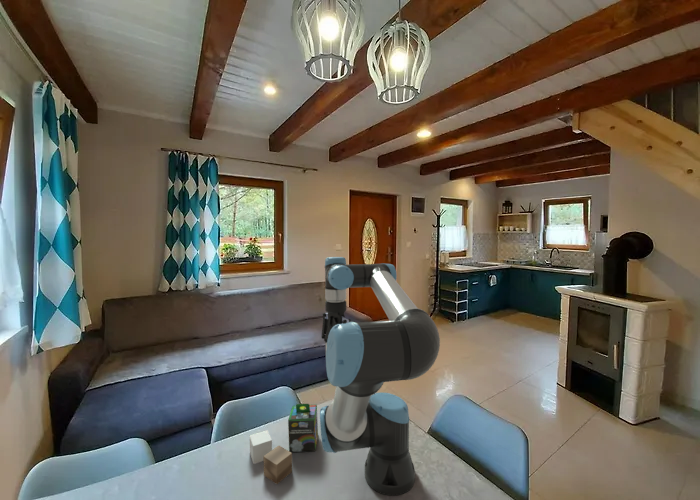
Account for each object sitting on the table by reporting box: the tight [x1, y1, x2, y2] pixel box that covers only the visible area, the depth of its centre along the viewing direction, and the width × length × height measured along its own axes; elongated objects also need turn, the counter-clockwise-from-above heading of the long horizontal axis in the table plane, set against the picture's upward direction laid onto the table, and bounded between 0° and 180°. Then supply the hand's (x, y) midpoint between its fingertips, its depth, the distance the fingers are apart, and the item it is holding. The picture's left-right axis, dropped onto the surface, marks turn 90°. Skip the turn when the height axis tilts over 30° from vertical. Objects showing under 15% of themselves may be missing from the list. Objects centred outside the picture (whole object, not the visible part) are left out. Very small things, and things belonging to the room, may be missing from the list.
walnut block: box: [263, 445, 293, 485], centre depth 91 cm, size 6×6×6 cm
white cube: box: [249, 429, 273, 465], centre depth 99 cm, size 6×6×6 cm
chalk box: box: [287, 403, 319, 453], centre depth 105 cm, size 9×9×15 cm
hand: (336, 362), depth 107 cm, fingers open, 8 cm apart
